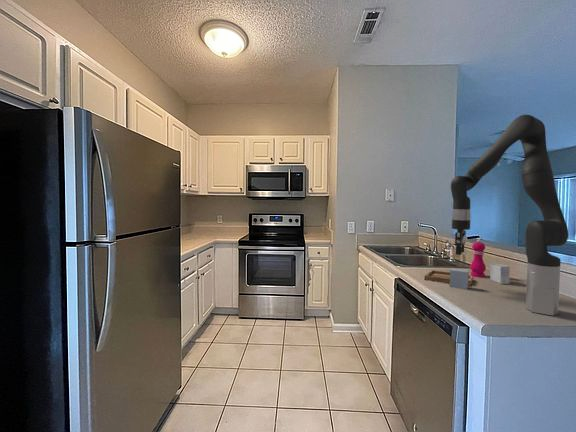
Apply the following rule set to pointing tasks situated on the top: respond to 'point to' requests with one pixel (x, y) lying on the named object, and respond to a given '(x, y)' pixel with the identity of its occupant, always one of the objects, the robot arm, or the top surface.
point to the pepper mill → (478, 260)
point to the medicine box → (500, 273)
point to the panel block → (459, 278)
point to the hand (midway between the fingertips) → (460, 253)
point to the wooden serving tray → (442, 277)
